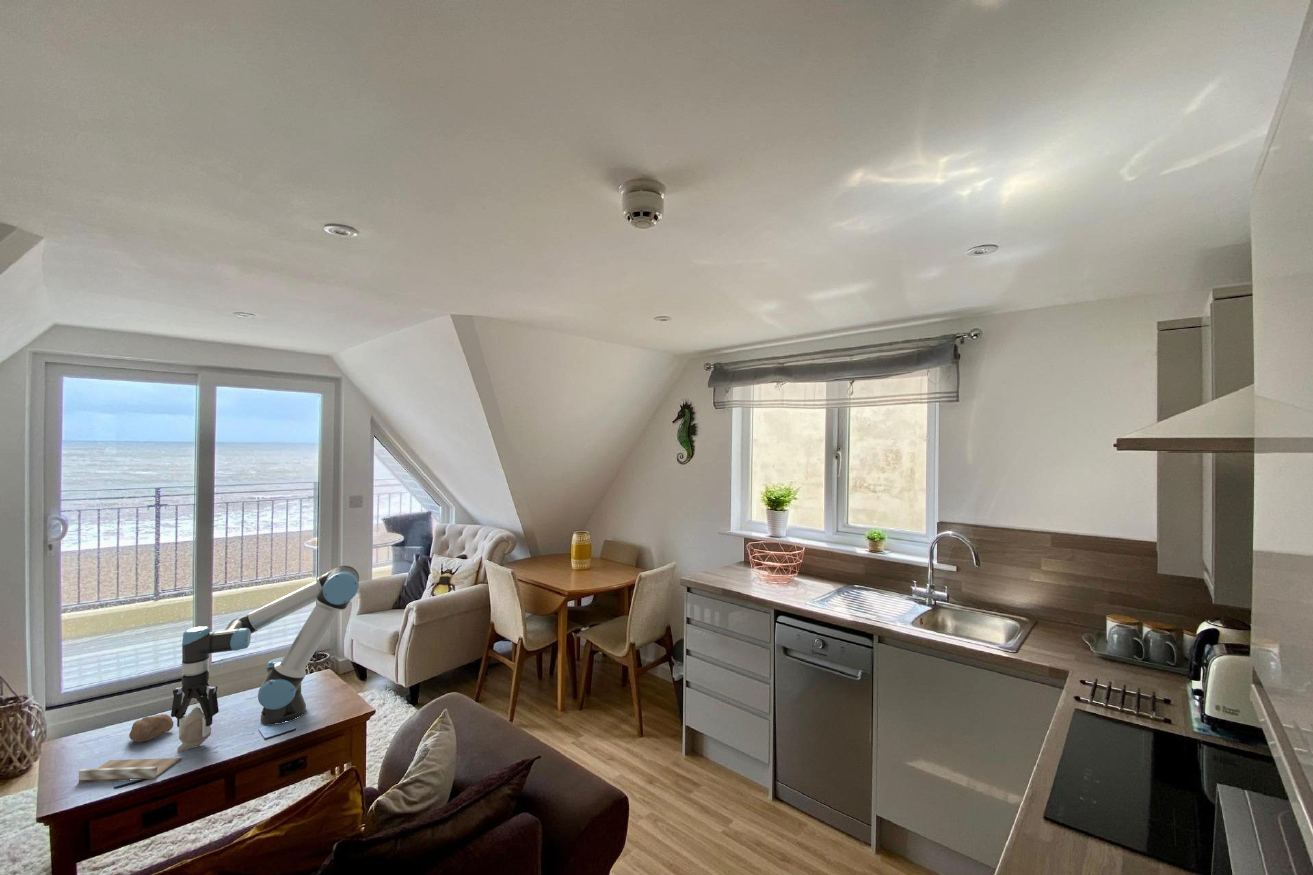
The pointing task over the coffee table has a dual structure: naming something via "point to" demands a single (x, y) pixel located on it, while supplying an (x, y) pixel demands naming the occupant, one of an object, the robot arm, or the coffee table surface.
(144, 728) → the stone
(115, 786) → the coffee table surface
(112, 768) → the plank
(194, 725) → the artifact
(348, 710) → the coffee table surface
